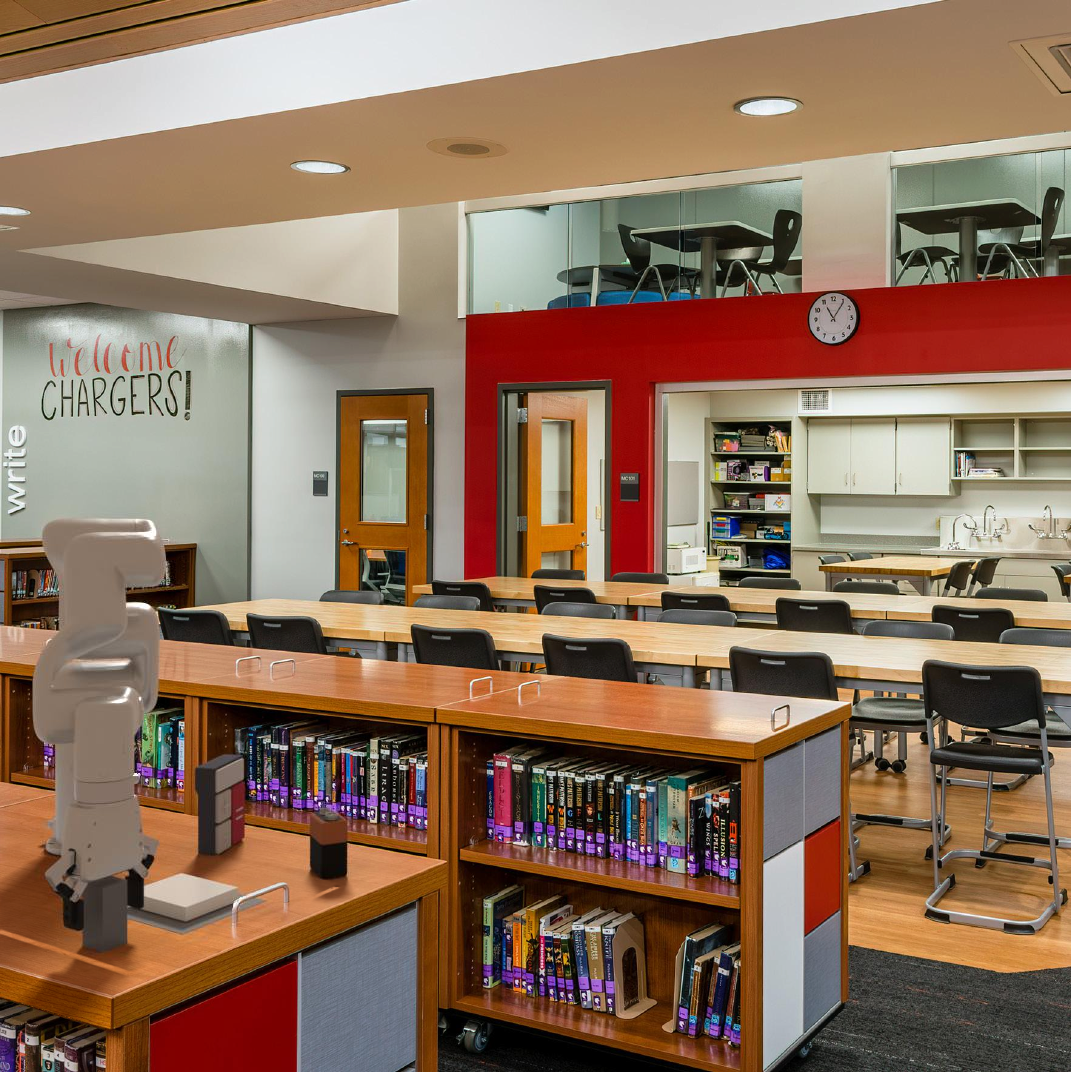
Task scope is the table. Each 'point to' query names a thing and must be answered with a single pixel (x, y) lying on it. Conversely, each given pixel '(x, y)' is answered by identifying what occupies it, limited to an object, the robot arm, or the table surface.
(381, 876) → the table surface
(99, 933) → the block
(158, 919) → the mat
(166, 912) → the tile
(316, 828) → the battery
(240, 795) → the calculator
